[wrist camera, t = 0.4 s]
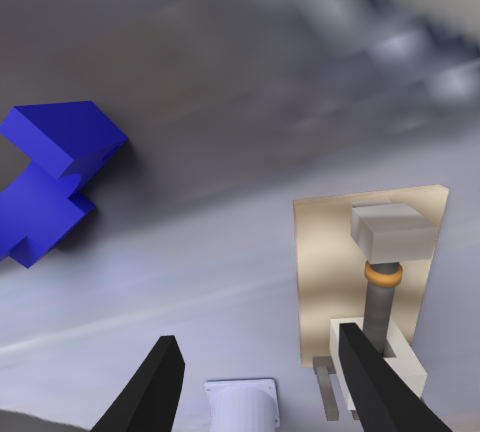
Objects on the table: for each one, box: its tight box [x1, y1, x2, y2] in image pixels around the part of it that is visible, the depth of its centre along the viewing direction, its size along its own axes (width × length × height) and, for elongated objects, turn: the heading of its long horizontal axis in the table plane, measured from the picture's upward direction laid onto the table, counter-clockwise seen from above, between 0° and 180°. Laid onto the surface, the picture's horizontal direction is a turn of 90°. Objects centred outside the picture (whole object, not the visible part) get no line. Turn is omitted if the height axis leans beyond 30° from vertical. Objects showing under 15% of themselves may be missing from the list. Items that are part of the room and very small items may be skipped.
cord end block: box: [329, 315, 427, 410], centre depth 20 cm, size 4×5×5 cm
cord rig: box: [293, 184, 449, 421], centre depth 19 cm, size 18×10×6 cm, turn 8°
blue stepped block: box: [0, 101, 128, 269], centre depth 16 cm, size 12×4×6 cm, turn 131°
